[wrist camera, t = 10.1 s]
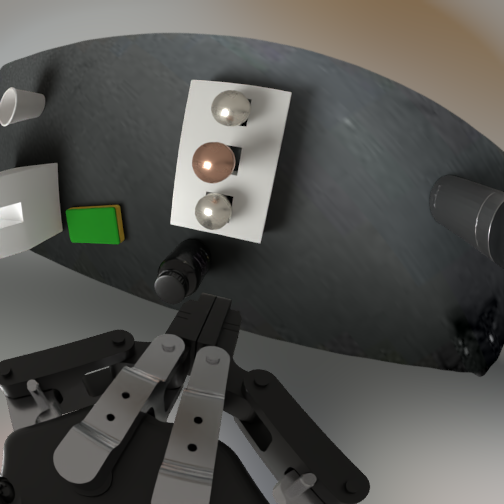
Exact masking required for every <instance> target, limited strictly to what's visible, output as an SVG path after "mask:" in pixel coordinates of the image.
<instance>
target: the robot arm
mask: <svg viewBox="0 0 504 504" xmlns="http://www.w3.org/2000/svg"><path fill="white" fill-rule="evenodd" d="M429 204H430V210H431V213H432V215H433V217H434V219H435V220H436V221H437V222H438V223H440V224H441V225H443V226H444V227H446V228H447V229H449V230H450V231H452V232H453V233H455V234H456V235H457V236H459V237H460V238H462V239H463V240H465V241H466V242H468V243H469V244H470V245H472V246H473V247H475V248H476V249H477V250H479V251H480V252H481V253H483V254H484V255H486V256H487V257H488V258H490V259H491V260H492V261H493V262H495V263H496V264H497V265H499V266H500V267H501V268H503V269H504V192H502V191H499V190H496V189H493V188H491V187H488V186H485V185H482V184H479V183H476V182H473V181H469V180H466V179H463V178H460V177H456V176H452V175H446V176H443V177H441V178H440V179H439V180H438V181H437V182H436V183H435V184H434V186H433V188H432V191H431V194H430V202H429ZM231 301H232V300H231V299H227V298H223V297H219V296H214V295H210V294H206V293H202V294H201V296H200V298H199V300H198V301H194V300H189V301H187V302H186V303H184V304H183V305H182V307H181V308H180V310H179V312H178V313H177V315H176V317H175V318H174V320H173V321H172V323H171V325H170V327H169V328H168V330H167V331H166V333H165V334H162V335H159V336H158V337H156V338H155V339H154V340H153V341H152V342H137V341H134V338H133V336H132V335H131V334H130V333H129V332H127V331H124V330H114V331H110V332H107V333H103V334H100V335H96V336H93V337H90V338H87V339H83V340H79V341H76V342H72V343H69V344H65V345H61V346H57V347H54V348H50V349H47V350H43V351H39V352H35V353H31V354H28V355H23V356H19V357H15V358H11V359H7V360H3V361H1V362H0V388H1V389H2V391H3V393H4V395H5V396H6V398H7V404H8V409H9V413H10V418H11V422H12V426H13V429H14V432H12V433H11V434H10V435H9V436H8V438H7V439H6V441H5V444H4V447H3V464H2V469H1V473H0V504H269V502H268V501H267V500H266V498H265V497H264V495H263V494H262V493H261V491H260V490H259V488H258V487H257V485H256V484H255V482H254V481H253V479H252V478H251V476H250V475H249V473H248V471H247V470H246V468H245V467H244V465H243V464H242V462H241V461H240V459H239V458H238V456H237V455H236V454H235V452H234V451H233V450H232V449H231V448H229V447H228V446H227V445H226V444H224V443H223V442H221V441H220V440H218V438H219V431H220V425H221V418H222V412H223V411H225V412H227V413H229V414H231V415H233V416H234V420H235V422H236V423H237V424H238V426H239V428H240V429H241V431H242V432H243V434H244V435H245V437H246V438H247V440H248V441H249V443H250V444H251V445H252V447H253V448H254V450H255V451H256V452H257V454H258V455H259V457H260V458H261V459H262V461H263V462H264V463H265V465H266V466H267V467H268V469H269V470H270V471H271V473H272V474H273V475H274V476H275V478H276V479H277V480H278V483H277V484H276V485H275V486H274V488H273V497H274V499H275V501H276V503H277V504H357V503H358V502H360V501H362V500H363V499H364V498H366V496H367V495H368V493H369V490H370V484H369V480H368V479H367V477H366V476H365V475H364V474H363V473H362V472H361V471H360V470H359V469H358V468H357V467H356V466H355V465H354V464H353V463H352V462H351V461H350V460H349V459H348V458H347V457H346V456H345V455H344V454H343V453H342V452H341V450H340V449H338V447H337V446H336V445H335V444H334V443H333V442H332V441H331V440H330V439H329V438H328V437H327V436H326V434H325V433H324V432H322V430H321V429H320V428H319V427H318V426H317V425H316V423H315V422H314V421H313V420H312V419H311V418H310V417H309V416H308V414H307V413H306V412H305V411H304V410H303V409H302V408H301V406H300V405H299V404H298V403H297V402H296V401H295V400H294V398H293V397H292V396H291V395H290V394H289V393H288V391H287V390H286V389H285V388H284V387H283V385H282V384H281V383H280V382H279V381H278V379H277V378H276V377H275V376H274V375H273V374H272V373H270V372H268V371H265V370H260V369H257V370H252V371H249V372H247V371H245V370H243V369H242V368H240V367H239V366H238V365H237V364H236V363H235V362H234V360H233V355H234V350H235V347H236V343H237V339H238V334H239V330H240V325H241V320H242V318H241V315H240V312H239V311H235V310H230V307H231ZM107 366H109V368H106V369H103V370H100V371H97V372H94V373H91V374H88V375H85V374H86V373H88V372H91V371H94V370H97V369H101V368H104V367H107ZM187 375H189V376H190V378H189V382H188V385H187V388H185V389H184V391H183V394H182V397H181V401H180V404H179V407H178V411H177V414H176V418H175V421H174V423H168V422H167V418H168V416H169V414H170V412H171V410H172V408H173V406H174V404H175V402H176V400H177V399H178V396H179V395H180V393H181V391H182V388H183V386H184V382H185V379H186V377H187ZM78 409H79V410H78ZM75 410H76V411H75ZM72 411H73V412H72ZM69 412H71V413H69ZM65 413H68V414H65ZM62 414H65V415H62Z"/></svg>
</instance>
